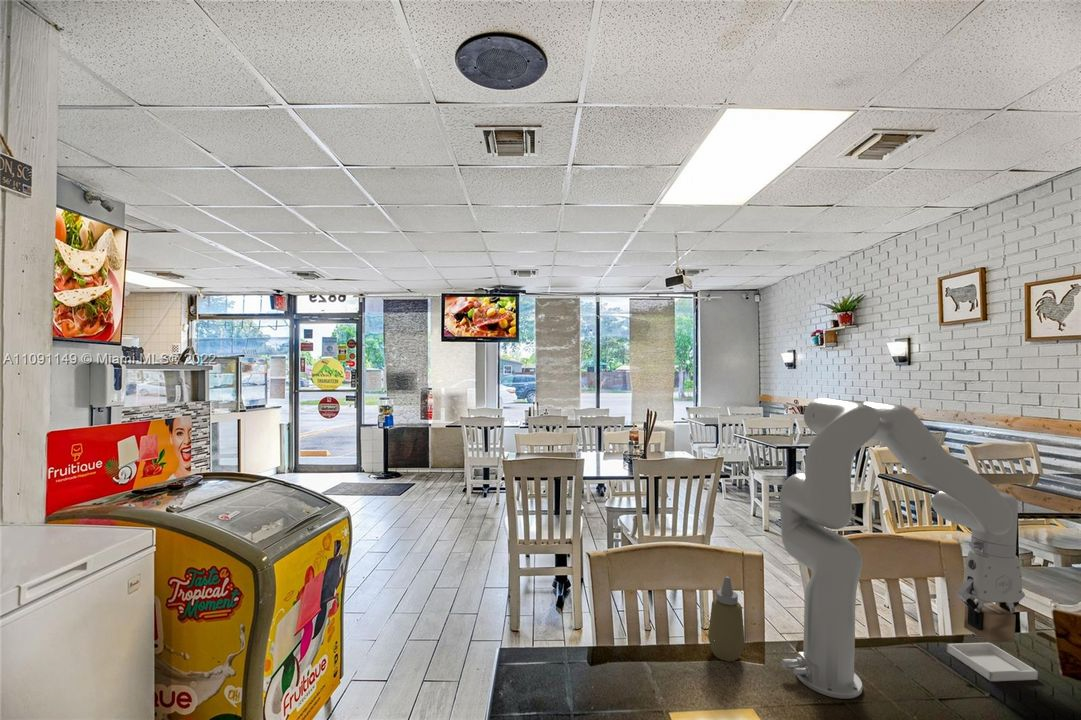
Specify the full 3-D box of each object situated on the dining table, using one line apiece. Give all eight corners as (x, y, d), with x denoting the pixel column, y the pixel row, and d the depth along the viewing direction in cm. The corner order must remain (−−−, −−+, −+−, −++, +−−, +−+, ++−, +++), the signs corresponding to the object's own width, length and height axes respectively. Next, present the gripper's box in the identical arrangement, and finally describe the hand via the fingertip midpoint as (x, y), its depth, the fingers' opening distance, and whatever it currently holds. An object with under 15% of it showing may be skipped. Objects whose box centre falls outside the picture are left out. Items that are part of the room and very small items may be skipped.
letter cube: (988, 642, 111) (990, 614, 111) (964, 627, 117) (965, 601, 117) (1014, 642, 112) (1015, 614, 112) (988, 627, 118) (989, 601, 118)
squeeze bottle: (738, 670, 112) (740, 589, 112) (702, 656, 117) (703, 578, 117) (748, 653, 119) (750, 576, 118) (714, 640, 123) (715, 567, 123)
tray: (990, 683, 109) (991, 672, 109) (946, 653, 120) (947, 643, 120) (1037, 681, 110) (1037, 671, 110) (989, 651, 120) (989, 642, 120)
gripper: (972, 553, 110) (968, 636, 110) (1046, 554, 111) (1042, 636, 111) (942, 541, 117) (938, 618, 118) (1011, 541, 119) (1008, 618, 119)
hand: (989, 626), depth 114 cm, fingers closed on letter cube, 6 cm apart
